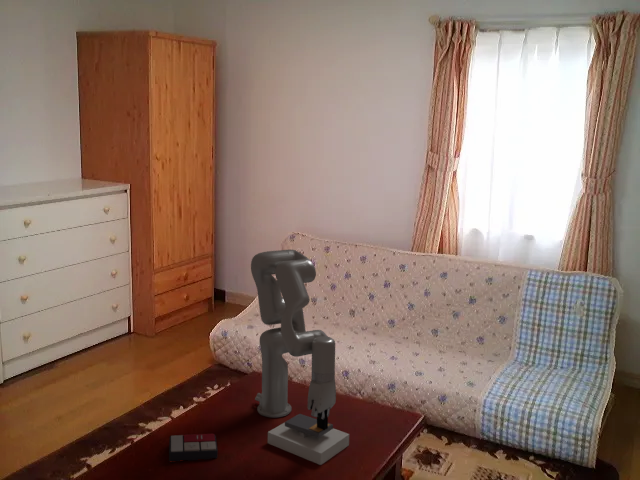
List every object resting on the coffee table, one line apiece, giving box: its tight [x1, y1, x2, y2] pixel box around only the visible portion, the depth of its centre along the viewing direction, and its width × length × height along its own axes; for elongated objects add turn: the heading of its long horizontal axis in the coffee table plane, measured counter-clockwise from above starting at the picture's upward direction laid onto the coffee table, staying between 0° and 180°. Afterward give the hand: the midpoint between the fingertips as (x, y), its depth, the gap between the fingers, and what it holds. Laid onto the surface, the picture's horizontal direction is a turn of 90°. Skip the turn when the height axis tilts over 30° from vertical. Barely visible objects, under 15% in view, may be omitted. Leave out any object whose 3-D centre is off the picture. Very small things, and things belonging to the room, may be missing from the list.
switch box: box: [267, 422, 350, 466], centre depth 211 cm, size 22×16×6 cm
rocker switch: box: [284, 413, 334, 438], centre depth 211 cm, size 14×8×2 cm, turn 54°
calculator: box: [168, 433, 219, 462], centre depth 205 cm, size 11×4×15 cm
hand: (322, 428), depth 207 cm, fingers closed
